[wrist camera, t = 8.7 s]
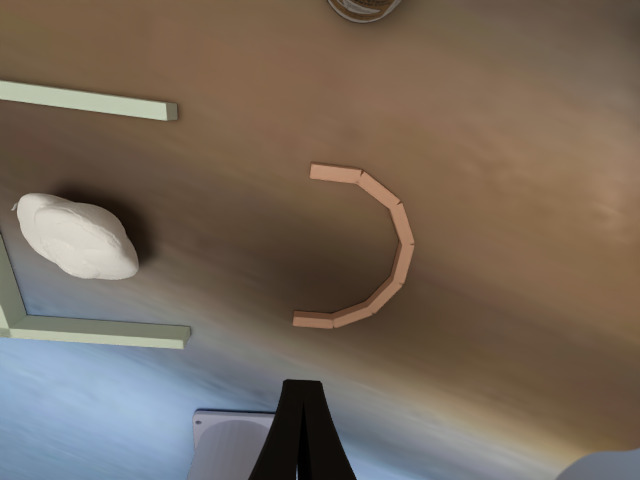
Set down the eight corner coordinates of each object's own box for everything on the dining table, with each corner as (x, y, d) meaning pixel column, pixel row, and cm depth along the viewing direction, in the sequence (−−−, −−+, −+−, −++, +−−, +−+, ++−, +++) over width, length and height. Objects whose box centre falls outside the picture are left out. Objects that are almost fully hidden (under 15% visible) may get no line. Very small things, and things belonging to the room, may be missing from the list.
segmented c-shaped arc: (387, 326, 23) (389, 333, 22) (293, 319, 22) (292, 325, 22) (428, 176, 18) (433, 179, 18) (311, 162, 18) (311, 164, 17)
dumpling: (166, 212, 19) (133, 238, 15) (147, 277, 21) (113, 314, 17) (43, 164, 17) (-26, 179, 14) (35, 239, 19) (-29, 271, 15)
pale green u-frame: (190, 335, 23) (183, 349, 21) (17, 323, 22) (-1, 336, 20) (176, 103, 16) (165, 103, 15) (-70, 70, 15) (-105, 66, 14)
